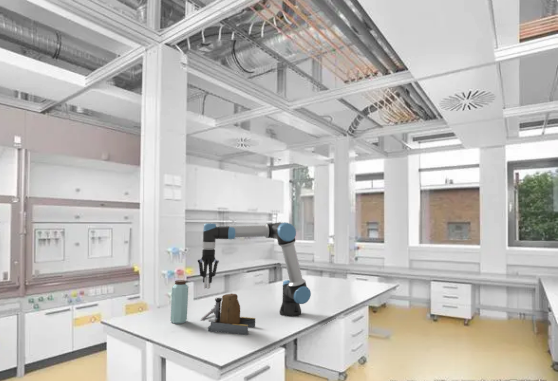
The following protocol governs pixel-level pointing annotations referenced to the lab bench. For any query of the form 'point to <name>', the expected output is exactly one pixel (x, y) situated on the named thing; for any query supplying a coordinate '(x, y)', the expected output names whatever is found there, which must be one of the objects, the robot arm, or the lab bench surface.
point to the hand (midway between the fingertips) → (207, 288)
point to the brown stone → (230, 309)
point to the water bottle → (179, 302)
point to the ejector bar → (217, 311)
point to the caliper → (209, 313)
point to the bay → (233, 326)
